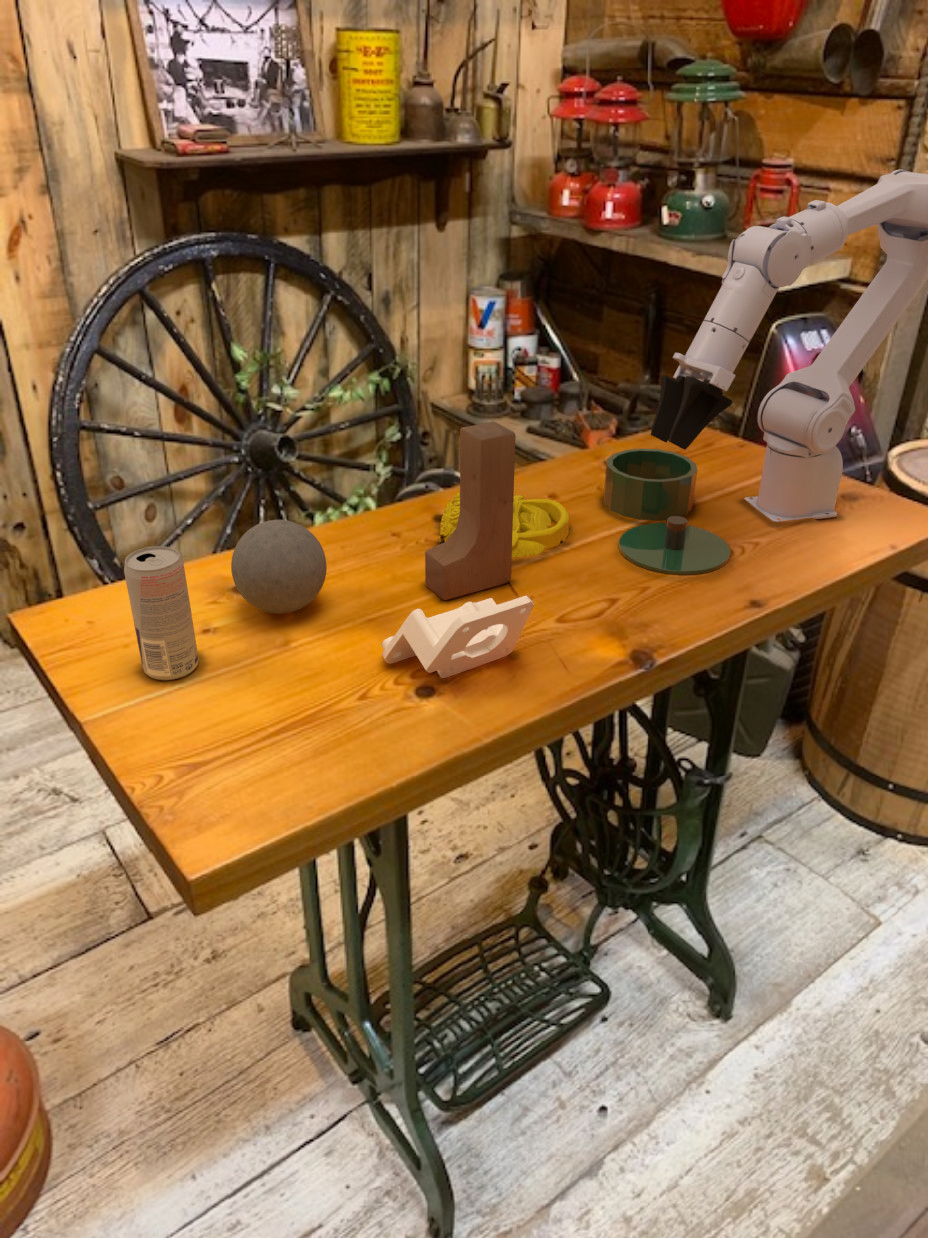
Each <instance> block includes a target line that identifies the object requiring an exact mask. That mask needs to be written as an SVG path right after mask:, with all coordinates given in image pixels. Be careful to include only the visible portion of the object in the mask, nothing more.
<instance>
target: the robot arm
mask: <svg viewBox="0 0 928 1238" xmlns="http://www.w3.org/2000/svg"><path fill="white" fill-rule="evenodd" d="M873 226H876V227H877V233H878V240H879V247H880V249H881V250H882V251H883V252H884V253H885V254H886V260H885V262H884V264H883V265H882V267H881V268H880V269H879V271H878V272H877V274H876V275H875V277H874V278H873V279H872V281H871V282H870V284H869V285H868V286H867V287H866V289H865V290H864V292H863V293H862V294H861V296H860V297H859V299H858V300H857V301H856V303H855V304H854V305H853V307H852V309H850V311H849V312H848V314H847V315H846V316H845V318H844V319H843V321H842V322H841V324H840V325H839V326H838V328H837V329H836V331H835V332H833V333H834V334H832V336H831V337H830V339H829V340H828V342H827V343H826V345H825V346H824V347H823V348H822V350H821V351H820V353H819V354H818V355H817V357H816V358H815V360H814V361H813V362H812V364H810V365H808V366H806V367H803V368H800V369H797V370H794V371H791V372H789V373H787V374H786V375H785V377H784V378H783V379H782V380H781V382H779V384H778V385H776V386H775V387H773V388H772V389H770V390H769V391H768V392H767V394H766V395H765V396H764V397H763V399H762V400H761V402H760V404H759V407H758V410H757V425H758V428H759V429H760V430H761V432H763V438H762V440H763V441H764V442H766V447H765V453H764V458H763V459H764V460H763V466H762V471H761V477H760V482H759V488H758V495H755V496H746V497H744V498H743V500H745V502H747V503H749V504H750V505H751V506H752V507H754V508H755V509H756V510H757V511H759V512H760V513H762V514H763V515H764V516H765V517H766V518H768V519H769V520H771V521H772V522H775V523H778V522H779V523H780V522H787V521H796V520H803V519H811V518H813V519H814V520H823V519H829V518H837V516H838V512H837V511H835V509H836V504H837V503H836V502H837V499H838V495H839V491H840V485H841V481H842V475H843V469H844V464H843V457H842V453H841V450H840V449H839V448H838V446H837V444H838V443H839V442H840V441H841V439H842V438H843V435H844V433H845V431H846V427H847V424H848V422H849V420H850V419H851V417H852V416H853V415H854V413H855V412H856V406H855V401H854V398H853V395H852V393H851V390H850V387H851V386H852V384H853V383H854V382H855V380H856V378H857V377H858V376H859V374H860V373H861V372H862V370H863V369H864V368H865V366H866V365H867V364H868V363H869V361H870V359H871V358H872V357H873V355H874V354H875V352H876V351H877V350H878V348H879V347H880V345H881V344H882V343H883V341H884V340H885V338H886V337H887V336H888V334H889V333H890V332H891V330H892V329H893V328H894V326H895V325H896V323H897V322H898V321H899V319H900V318H901V316H902V315H903V314H904V313H905V311H906V310H907V308H908V307H909V306H910V304H911V303H912V302H913V301H914V299H915V298H916V296H917V294H918V293H919V292H920V291H921V289H923V287H924V285H925V283H926V282H927V281H928V173H923V172H922V173H921V172H915V171H914V172H913V171H909V170H906V169H895V170H893V171H892V172H890V173H887V174H883V175H881V176H880V177H879V179H878V180H877V183H876V184H875V185H873V186H870V187H868V188H867V189H866V190H863V191H862V192H860V193H858V194H856V195H855V196H852V197H851V198H848V199H847V200H846V201H843V202H841V203H840V204H838V205H836V204H834V203H831V202H827V201H824V200H818V199H814V200H811V201H810V202H808V203H807V208H806V209H804V210H801V211H800V212H797V213H794V214H793V215H790V216H781V217H779V218H777V219H776V220H775V223H773V224H771V225H770V226H769V227H766V226H761V225H753V226H750V227H749V228H747V229H746V230H744V231H743V232H741V233H740V234H739V235H738V237H737V238H736V239H735V238H733V239H732V240H731V243H730V245H729V249H728V253H727V264H726V268H725V270H724V273H723V274H722V276H721V278H722V280H721V286H720V289H719V290H718V292H717V294H716V296H715V298H714V300H713V301H712V303H711V306H709V307H710V308H709V309H708V311H707V314H706V315H705V317H704V319H703V320H702V323H701V325H700V326H699V329H698V331H697V332H696V334H695V336H694V337H693V339H692V342H691V343H690V345H689V348H687V351H686V353H685V355H684V354H682V353H680V352H674V354H673V356H672V359H673V360H674V361H677V362H678V363H679V365H678V367H677V369H676V371H675V373H674V375H673V376H672V377H671V376H668V375H667V374H662V375H661V378H660V394H659V400H658V406H657V409H656V412H655V416H654V420H653V423H652V426H651V431H650V436H652V437H654V438H656V439H658V440H660V441H662V442H664V443H671V444H672V445H674V446H676V447H678V448H680V449H682V450H684V451H686V450H687V449H688V448H689V447H690V446H691V444H692V443H693V442H694V441H695V440H696V438H697V437H698V436H699V435H700V434H701V433H702V431H703V430H704V429H706V427H707V426H708V425H709V423H710V422H712V421H713V420H714V419H715V418H716V417H717V416H718V415H720V414H721V413H722V412H724V411H725V410H726V409H728V408H729V407H731V405H733V402H734V401H733V400H732V399H731V398H729V397H727V396H725V395H724V392H728V390H729V388H730V387H731V385H732V383H733V381H734V380H735V378H736V374H735V373H734V372H735V370H736V368H737V367H738V365H739V363H740V360H741V359H742V357H743V355H744V354H745V352H746V349H747V348H748V346H749V344H750V342H751V340H752V338H753V337H754V335H755V333H756V331H757V329H758V328H759V326H760V324H761V322H762V320H763V318H764V316H765V315H766V312H767V311H768V309H769V307H770V305H771V304H772V302H773V300H774V298H775V296H776V295H777V292H778V290H779V289H780V288H785V287H787V286H788V287H790V286H792V285H793V284H794V283H795V282H796V281H797V280H798V278H799V277H800V276H801V274H802V272H803V271H804V270H805V269H806V268H808V267H809V266H810V265H812V264H814V263H815V262H818V261H820V260H822V259H825V258H827V257H828V256H831V255H833V254H835V253H837V252H839V251H840V250H841V249H842V248H843V246H844V245H845V243H846V241H847V238H848V236H850V235H852V234H855V233H858V232H861V231H863V230H865V229H868V228H871V227H873Z"/></svg>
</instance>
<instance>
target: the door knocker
mask: <svg viewBox="0 0 928 1238" xmlns="http://www.w3.org/2000/svg"><path fill="white" fill-rule="evenodd" d="M459 514H460V492H457V493H455V494H454V495H453V496H452V499H451V500H450V501H448V502H447V504H446V505H445V507H444V509H443V513H442V514H441V515H442V516H441V520H440V523H439V536H440V537H439V543H442V541H444V542H446V541H447V539H448V538H449V537H450V536H451V534H452V533H453V532H454V530H455V529H456V527H457V523H458V518H459ZM552 520H553V521H554V522H555V523H556V524H555V525H553V526H552ZM569 533H570V514H569V512H568V510H567V509H566V507H565V506H563V505H562V504H561V503H560V502H558V501H556V500H553V499H549V498H529V499H527V498H526V499H524V495H523V494H516V495H514V499H513V530H512V559H514V558H516V557H517V558H523V557H531V556H533V555H535V556H536V555H539V554H542V553H543V552H544V551H546V550H549V549H553V548H555V547H558V546H559V545H561V541H562V542H565V541H566V540H567V539H568V536H569Z"/></svg>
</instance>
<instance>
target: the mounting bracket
mask: <svg viewBox="0 0 928 1238" xmlns="http://www.w3.org/2000/svg"><path fill="white" fill-rule="evenodd" d="M534 606H535V603H534V601H532V599H531V597H529V596H528V595H523V596H520V597H517V598H514V599H511V600H508V601H504V602H500V603H498V604H497V602H495V600H494V598H493V597H489V598H486V599H483V600H480V601H475V602H472V601H467V602H465V603H464V604H463V605H461V606H460V607H457V608H454V609H451V610H448V611H444V612H442V613H439V614H435V615H433V616H429V617H427V616H426V615H425V613H424V611H423V610H422V609H421V608H416V609H414V610H412V611H411V612H410V613H409V615H408V616H407V617H406V619H405V620H404V622H403V623H402V625H401V626H400V627H399V628H398V630H397V631H396V633H395V634H394V635H391V636H389V637H387V638H385V639H384V640H383V641H382V643H381V647H382V649H383V651H382V653H381V657H382V658H383V660H384V661H385V663H386V664H396V663H398V662H401V661H403V660H406V659H411V658H413V657H417V659H418V660H419V662H420V664H421V666H422V667H423V668H424V670H425V671H426V672H427V673H428V674H430V673H433V672H437V674H438V675H439V677H440V678H441V679H446V678H450V677H451V676H454V675H458V674H461V673H463V672H466V671H468V670H471V669H474V668H477V667H480V666H482V665H486V664H488V663H491V662H494V661H497V660H499V659H503V658H505V657H508V655H510V654H511V653H512V652H513V651H514V650H515V648H516V646H517V643H518V641H519V639H520V637H521V634H522V632H523V630H524V628H525V626H526V623H527V621H528V619H529V617H530V615H531V613H532V610H533V608H534Z"/></svg>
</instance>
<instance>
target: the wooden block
mask: <svg viewBox="0 0 928 1238" xmlns="http://www.w3.org/2000/svg"><path fill="white" fill-rule="evenodd" d="M516 438H517V437H516V432H515V431H512V430H511V429H509V428H507V427H505V426H504V425H502V424H500V423H498V422H497V421H488V422H483V423H478V424H473V425H468V426H463V427H461V428H460V430H459V493H460V514H459V518H458V523H457V527H456V529H455V530H454V532H453V533H452V534H451V536H450V537H449V538H448V539H447V541H446V542H445V541H444V542H441V543H440V544H438V545H435V546H433V547H431V548H428V549H427V550H425V552H424V572H425V573H424V574H425V575H424V576H425V581H424V582H425V585H426V587H427V588H429V589H430V590H431V591H432V592H433V593H434V594H436V595H437V596H438V597H439V598H440V599H441V600H443V601H449V600H452V599H455V598H459V597H462V596H466V595H470V594H473V593H476V592H480V591H483V590H487V589H491V588H493V587H497V586H502V585H505V584H509V583H510V582H511V581H510V580H511V579H512V561H513V558H512V530H513V499H514V496H515V495H514V493H515V492H514V491H515V465H516V464H515V463H516Z"/></svg>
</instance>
